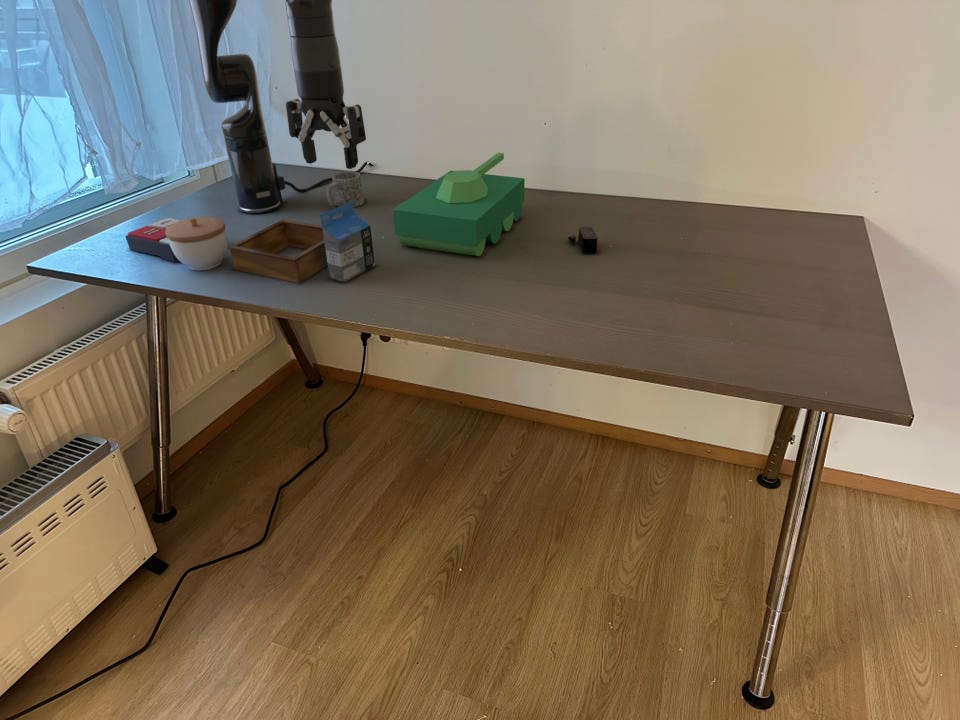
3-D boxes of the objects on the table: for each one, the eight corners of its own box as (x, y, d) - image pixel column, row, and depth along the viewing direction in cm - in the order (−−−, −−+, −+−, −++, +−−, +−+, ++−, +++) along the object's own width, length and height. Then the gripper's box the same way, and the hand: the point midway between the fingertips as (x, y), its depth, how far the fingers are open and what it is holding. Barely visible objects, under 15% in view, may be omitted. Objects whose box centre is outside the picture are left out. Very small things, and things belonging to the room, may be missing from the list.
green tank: (536, 151, 148) (475, 201, 121) (535, 204, 155) (477, 263, 127) (464, 145, 154) (390, 190, 127) (465, 196, 160) (396, 250, 133)
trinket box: (244, 256, 133) (233, 211, 128) (210, 278, 124) (198, 231, 119) (199, 250, 136) (187, 206, 131) (164, 272, 127) (149, 225, 122)
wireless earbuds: (590, 240, 135) (591, 225, 134) (596, 254, 129) (598, 238, 128) (567, 241, 135) (568, 225, 134) (573, 255, 129) (574, 239, 128)
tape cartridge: (344, 283, 121) (335, 219, 114) (329, 279, 123) (318, 215, 116) (376, 265, 127) (368, 203, 121) (360, 261, 129) (352, 200, 122)
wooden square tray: (287, 240, 139) (283, 219, 137) (349, 251, 133) (346, 229, 131) (233, 269, 127) (228, 246, 125) (299, 283, 122) (294, 259, 119)
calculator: (168, 215, 143) (214, 223, 136) (174, 234, 145) (220, 243, 138) (122, 232, 135) (169, 242, 128) (129, 252, 138) (176, 262, 131)
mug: (350, 196, 163) (346, 169, 159) (369, 201, 159) (366, 174, 156) (319, 208, 156) (315, 180, 152) (339, 213, 152) (335, 185, 149)
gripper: (367, 64, 107) (377, 163, 116) (296, 59, 113) (311, 155, 122) (340, 72, 102) (353, 176, 111) (267, 66, 107) (285, 166, 116)
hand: (331, 165), depth 116 cm, fingers open, 8 cm apart
